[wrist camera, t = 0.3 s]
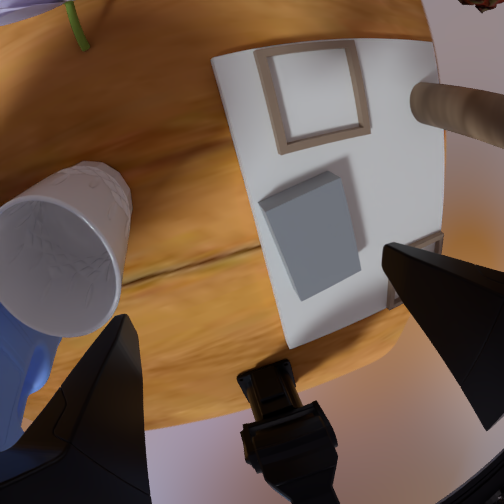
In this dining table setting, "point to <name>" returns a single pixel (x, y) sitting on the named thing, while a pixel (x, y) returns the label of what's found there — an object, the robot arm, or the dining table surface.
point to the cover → (313, 233)
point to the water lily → (34, 3)
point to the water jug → (20, 371)
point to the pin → (460, 111)
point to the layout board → (338, 157)
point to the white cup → (66, 250)
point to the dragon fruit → (482, 4)
